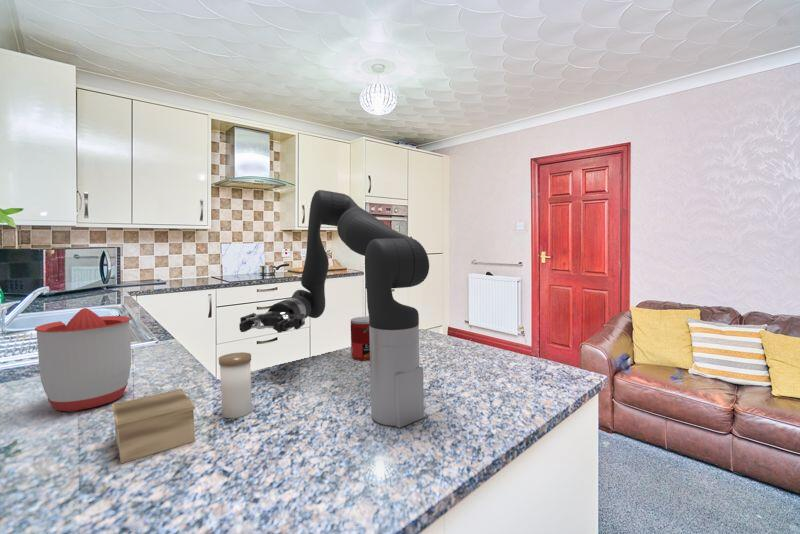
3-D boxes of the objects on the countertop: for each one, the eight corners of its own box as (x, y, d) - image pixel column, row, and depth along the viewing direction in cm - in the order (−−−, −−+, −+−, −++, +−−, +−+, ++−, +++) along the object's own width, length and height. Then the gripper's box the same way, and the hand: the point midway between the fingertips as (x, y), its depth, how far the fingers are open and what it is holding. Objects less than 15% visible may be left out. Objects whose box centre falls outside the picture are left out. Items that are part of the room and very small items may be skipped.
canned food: (366, 362, 106) (365, 322, 105) (345, 357, 111) (344, 319, 110) (383, 355, 112) (383, 318, 112) (363, 351, 117) (362, 315, 116)
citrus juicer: (120, 381, 94) (115, 300, 93) (145, 398, 83) (140, 306, 82) (32, 402, 82) (25, 308, 81) (48, 425, 71) (40, 317, 70)
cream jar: (257, 412, 75) (255, 356, 74) (226, 421, 71) (223, 362, 70) (247, 403, 79) (245, 350, 79) (217, 411, 75) (214, 356, 75)
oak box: (196, 441, 64) (194, 405, 64) (119, 464, 57) (117, 425, 57) (183, 420, 72) (181, 388, 72) (114, 438, 65) (112, 404, 65)
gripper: (261, 299, 102) (228, 311, 86) (313, 300, 101) (290, 311, 85) (262, 327, 103) (230, 344, 87) (314, 328, 101) (291, 345, 85)
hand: (260, 327), depth 86 cm, fingers open, 8 cm apart
